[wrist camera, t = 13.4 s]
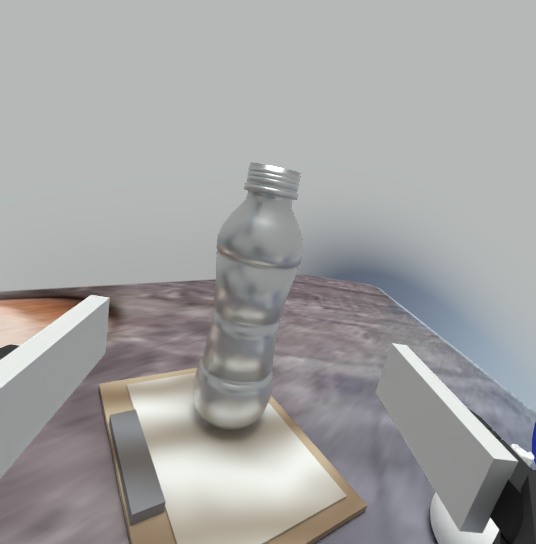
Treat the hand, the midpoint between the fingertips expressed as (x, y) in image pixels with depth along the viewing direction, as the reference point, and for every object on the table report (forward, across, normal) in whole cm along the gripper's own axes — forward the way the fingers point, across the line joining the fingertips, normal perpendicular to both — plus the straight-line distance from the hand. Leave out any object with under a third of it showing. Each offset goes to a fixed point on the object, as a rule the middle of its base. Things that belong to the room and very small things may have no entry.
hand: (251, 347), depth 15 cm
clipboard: (+7, 0, -12) cm, 14 cm away
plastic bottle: (+10, 0, -12) cm, 15 cm away
